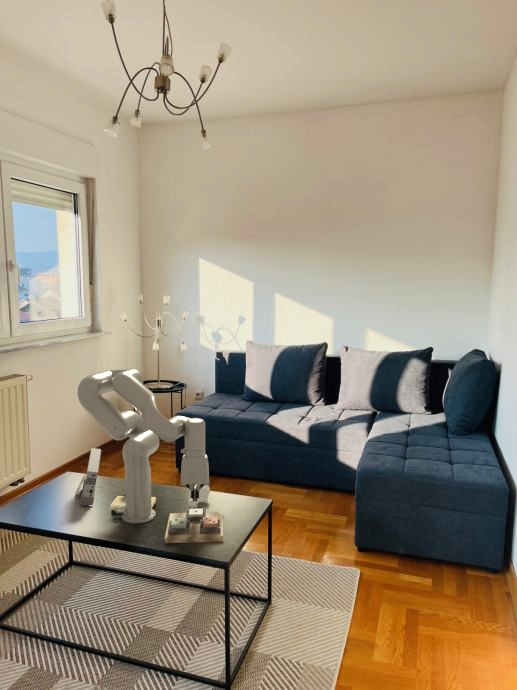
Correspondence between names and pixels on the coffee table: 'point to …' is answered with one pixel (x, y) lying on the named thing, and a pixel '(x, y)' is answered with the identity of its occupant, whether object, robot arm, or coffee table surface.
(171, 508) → the coffee table surface
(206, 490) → the white statuette
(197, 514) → the tile cream
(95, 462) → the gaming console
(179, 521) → the tile sage
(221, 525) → the tile board
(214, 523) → the tile terracotta
